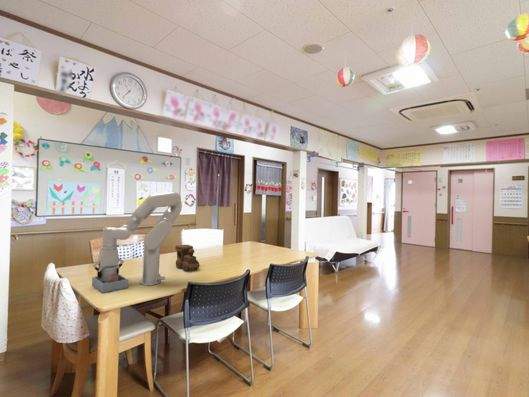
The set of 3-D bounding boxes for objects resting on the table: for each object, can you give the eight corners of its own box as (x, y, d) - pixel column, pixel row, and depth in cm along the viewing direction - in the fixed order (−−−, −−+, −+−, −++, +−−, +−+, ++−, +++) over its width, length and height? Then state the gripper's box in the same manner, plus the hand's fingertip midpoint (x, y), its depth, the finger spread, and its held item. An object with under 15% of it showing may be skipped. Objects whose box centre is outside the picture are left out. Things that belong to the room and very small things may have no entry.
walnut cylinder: (117, 286, 163) (118, 274, 164) (117, 288, 159) (118, 276, 159) (107, 286, 161) (108, 274, 161) (107, 289, 156) (108, 276, 157)
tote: (92, 285, 164) (92, 277, 164) (116, 280, 174) (116, 272, 174) (102, 293, 152) (102, 284, 152) (127, 288, 162) (128, 279, 162)
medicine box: (116, 280, 168) (117, 265, 168) (113, 282, 163) (113, 267, 163) (102, 279, 167) (103, 265, 167) (99, 282, 163) (99, 267, 163)
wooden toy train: (173, 267, 212) (174, 245, 212) (186, 264, 220) (187, 244, 220) (187, 273, 198) (188, 249, 198) (200, 270, 206) (201, 248, 206)
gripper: (122, 245, 174) (121, 272, 174) (90, 248, 161) (89, 277, 161) (127, 247, 169) (125, 275, 169) (95, 250, 156) (93, 280, 156)
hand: (108, 276), depth 165 cm, fingers closed on medicine box, 8 cm apart
